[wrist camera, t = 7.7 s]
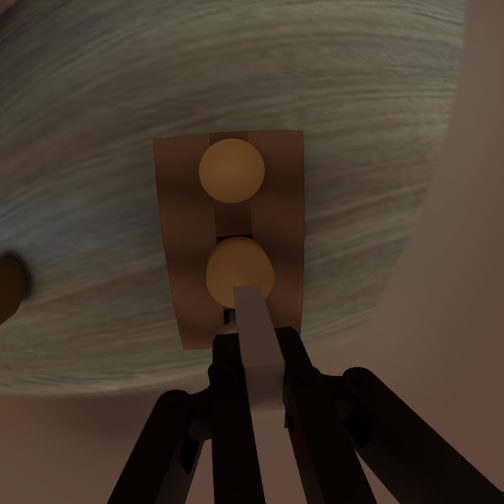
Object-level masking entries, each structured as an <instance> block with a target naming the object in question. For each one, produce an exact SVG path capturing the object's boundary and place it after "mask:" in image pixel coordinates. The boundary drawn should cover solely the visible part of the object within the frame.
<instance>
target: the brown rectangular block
mask: <svg viewBox="0 0 504 504" xmlns="http://www.w3.org/2000/svg"><path fill="white" fill-rule="evenodd" d="M225 139H240V140H243V141H246V142H248V143H250V144H251V145H252V146H254V147H255V148H256V149H257V150H258V152H259V153H260V155H261V157H262V159H263V162H264V167H265V174H264V179H263V182H262V184H261V186H260V188H259V189H258V191H257V192H256V193H255V194H254V195H253V196H251V197H250V198H248V199H246V200H244V201H241V202H237V203H225V202H221V201H219V200H216V199H215V198H213V197H212V196H210V195H209V194H208V193H207V192H206V190H205V189H204V187H203V186H202V184H201V181H200V177H199V165H200V161H201V159H202V157H203V155H204V153H205V152H206V151H207V149H208V148H209V147H211V146H212V145H213V144H215V143H217V142H219V141H221V140H225ZM153 146H154V161H155V173H156V184H157V194H158V204H159V212H160V221H161V228H162V236H163V243H164V250H165V256H166V263H167V269H168V275H169V281H170V287H171V292H172V298H173V303H174V308H175V313H176V318H177V323H178V328H179V332H180V337H181V341H182V346H183V350H192V349H209V348H213V340H214V338H215V337H216V335H217V334H218V333H219V331H220V329H221V328H222V327H223V326H224V325H226V324H227V323H229V322H230V319H229V309H233V308H228V307H225V306H223V305H221V304H220V303H218V302H217V301H216V300H215V299H214V298H213V297H212V296H211V294H210V293H209V291H208V288H207V284H206V272H207V261H208V257H209V255H210V253H211V251H212V249H213V248H214V247H215V246H216V245H217V237H221V236H234V235H247V234H251V239H252V240H254V241H256V242H257V243H258V244H260V245H261V246H262V248H263V249H264V251H265V252H266V254H267V257H268V259H269V261H270V263H271V265H272V267H273V271H274V283H273V287H272V289H271V291H270V293H269V294H268V296H267V297H266V298H265V302H266V305H267V308H268V311H269V315H270V318H271V321H272V324H273V327H274V328H282V327H290V326H291V327H292V328H294V329H295V330H296V331H297V332H298V333H299V336H300V335H301V318H302V297H303V269H304V147H303V131H297V130H266V131H236V132H219V133H206V134H194V135H184V136H175V137H167V138H160V139H153Z"/></svg>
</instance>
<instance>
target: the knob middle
mask: <svg viewBox="0 0 504 504" xmlns="http://www.w3.org/2000/svg"><path fill="white" fill-rule="evenodd" d="M222 239H223V241H221V242H220V243H218V244H217V245H216V246H215V247H214V248H213V249H212V251H211V253H210V255H209V257H208V261H207V272H206V284H207V288H208V291H209V293H210V294H211V296H212V297H213V298H214V299H215V300H216V301H217V302H218V303H220V304H221V305H223V306H225V307H228V308H233V309H235V304H234V292H233V287H238V286H249V285H260V286H261V289H262V292H263V295H264V299H265V298H266V297H267V296H268V294H269V293H270V291H271V289H272V287H273V283H274V271H273V267H272V265H271V263H270V261H269V259H268V257H267V254H266V252H265V251H264V249H263V248H262V246H261V245H260V244H258V243H257V242H256V241H254V240H252V239H250V238H246V237H245V235H234V236H222Z"/></svg>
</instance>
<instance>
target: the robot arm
mask: <svg viewBox="0 0 504 504" xmlns="http://www.w3.org/2000/svg"><path fill="white" fill-rule="evenodd" d="M233 292H234V304H235V316H236V327H237V333H229V334H217V335H216V337H215V338H214V340H213V363H212V364H211V365H210V366H209V369H208V376H209V381H210V385H209V386H208V388H206V389H205V390H203V391H201V392H199V393H195V394H191V395H190V394H188V393H187V392H186V391H183V390H170V391H167V392H165V393H163V394H162V395H161V396H160V397H159V399H158V401H157V402H156V404H155V406H154V408H153V410H152V412H151V414H150V416H149V418H148V420H147V422H146V424H145V426H144V428H143V430H142V433H141V434H140V436H139V439H138V440H137V442H136V444H135V446H134V449H133V451H132V453H131V455H130V457H129V459H128V461H127V463H126V465H125V467H124V469H123V471H122V473H121V475H120V477H119V480H118V482H117V484H116V486H115V488H114V490H113V492H112V494H111V496H110V498H109V501H108V503H107V504H185V502H186V498H187V495H188V492H189V489H190V486H191V483H192V479H193V476H194V473H195V470H196V466H197V463H198V460H199V457H200V454H201V450H202V447H203V444H204V441H205V440H208V439H211V438H212V461H213V484H214V502H215V504H266V503H265V497H264V491H263V486H262V480H261V474H260V468H259V462H258V457H257V450H256V444H255V438H254V431H253V425H252V418H251V413H252V412H261V411H269V410H276V409H283V403H284V407H285V425H284V428H288V432H289V435H290V439H291V443H292V447H293V451H294V455H295V459H296V462H297V466H298V470H299V474H300V478H301V481H302V485H303V489H304V493H305V497H306V500H307V504H377V502H376V500H375V497H374V495H373V493H372V490H371V488H370V485H369V483H368V481H367V478H366V476H365V474H364V471H363V469H362V467H361V464H360V462H359V459H358V457H357V455H356V452H357V453H358V454H359V456H360V457H361V458H362V459H363V460H364V462H365V463H366V464H367V465H368V466H369V468H370V469H371V470H372V471H373V472H374V474H375V475H376V476H377V477H378V478H379V480H380V481H381V482H382V483H383V484H384V486H385V487H386V488H387V489H388V490H389V491H390V493H391V494H392V495H393V496H394V497H395V498H396V499H397V501H398V502H399V503H400V504H504V492H502V491H500V490H499V489H498V488H496V487H495V486H494V485H493V484H492V483H491V482H490V481H489V480H488V479H487V478H486V477H485V476H483V475H482V474H481V473H480V472H479V471H478V470H477V469H476V468H474V466H472V465H471V464H470V463H469V462H468V461H467V460H466V459H465V458H464V457H463V456H462V455H460V454H459V453H458V452H457V451H456V450H455V449H454V448H453V447H452V446H451V445H450V444H449V443H447V442H446V441H445V440H444V439H443V438H442V437H441V436H440V435H439V434H438V433H437V432H436V431H435V430H433V429H432V428H431V427H430V426H429V425H428V424H427V423H426V422H425V421H424V420H422V418H420V417H419V416H418V415H417V414H416V413H415V412H414V411H413V410H412V409H411V408H410V407H409V406H408V405H406V404H405V403H404V402H403V401H402V400H401V399H400V398H399V397H398V396H397V395H396V394H395V393H394V392H393V391H391V390H390V389H389V388H388V387H387V386H386V385H385V384H384V383H383V382H382V381H381V380H380V379H379V378H377V376H375V375H374V374H373V373H372V372H371V371H369V370H368V369H366V368H362V367H354V368H349V369H348V370H346V371H345V372H344V374H343V375H342V376H329V375H324V374H321V373H320V371H319V370H318V369H317V368H315V367H313V366H312V364H311V361H310V359H309V357H308V354H307V352H306V350H305V347H304V346H303V343H302V340H301V338H300V336H299V333H298V332H297V331H296V330H295V329H294V328H292V327H291V326H290V327H282V328H274V327H273V324H272V321H271V318H270V315H269V311H268V308H267V305H266V302H265V299H264V295H263V292H262V289H261V286H260V285H249V286H238V287H233ZM354 449H355V450H354ZM355 451H356V452H355Z"/></svg>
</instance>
